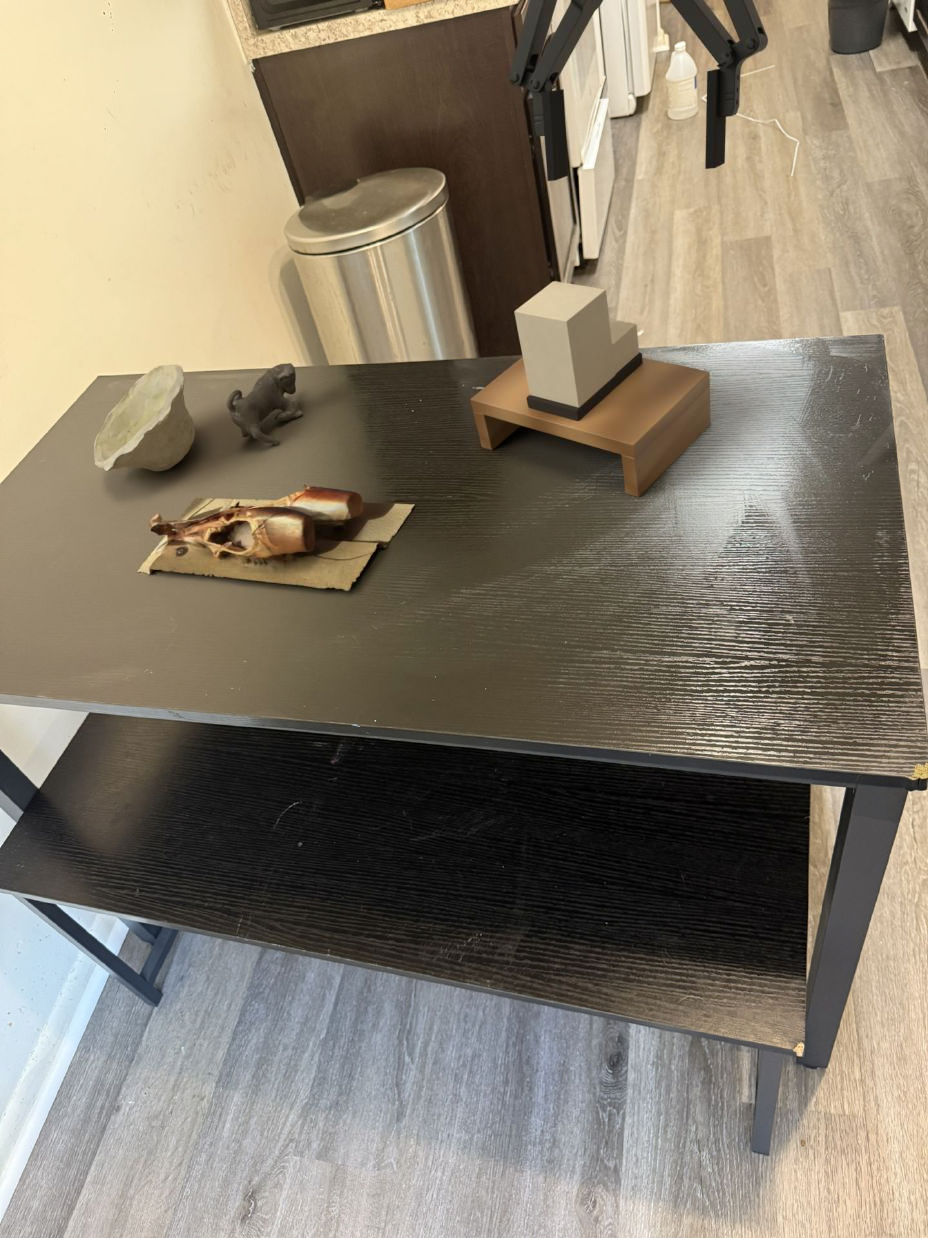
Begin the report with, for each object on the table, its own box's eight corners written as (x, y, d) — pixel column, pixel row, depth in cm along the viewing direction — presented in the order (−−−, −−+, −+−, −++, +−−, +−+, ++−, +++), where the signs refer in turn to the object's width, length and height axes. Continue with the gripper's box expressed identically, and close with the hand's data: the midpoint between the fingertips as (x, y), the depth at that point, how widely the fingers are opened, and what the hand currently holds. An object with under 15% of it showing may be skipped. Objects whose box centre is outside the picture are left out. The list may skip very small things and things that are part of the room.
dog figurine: (269, 454, 102) (244, 400, 97) (232, 449, 105) (207, 396, 100) (324, 398, 109) (304, 344, 104) (289, 394, 111) (267, 342, 106)
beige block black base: (578, 421, 82) (564, 324, 75) (527, 407, 86) (509, 313, 79) (643, 363, 87) (635, 266, 80) (592, 352, 90) (580, 258, 84)
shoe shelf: (711, 424, 87) (709, 371, 83) (638, 497, 82) (633, 444, 78) (554, 385, 99) (546, 337, 95) (481, 447, 93) (469, 399, 89)
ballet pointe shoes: (346, 547, 76) (97, 537, 86) (369, 599, 81) (130, 584, 91) (397, 450, 84) (165, 451, 94) (416, 502, 89) (192, 498, 99)
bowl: (112, 448, 112) (71, 380, 105) (215, 414, 112) (181, 343, 105) (105, 513, 101) (59, 441, 94) (220, 475, 101) (182, 401, 94)
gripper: (826, -209, 57) (800, 153, 68) (494, -120, 69) (519, 176, 80) (801, -229, 52) (777, 167, 63) (446, -128, 64) (480, 189, 75)
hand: (633, 172), depth 72 cm, fingers open, 13 cm apart
